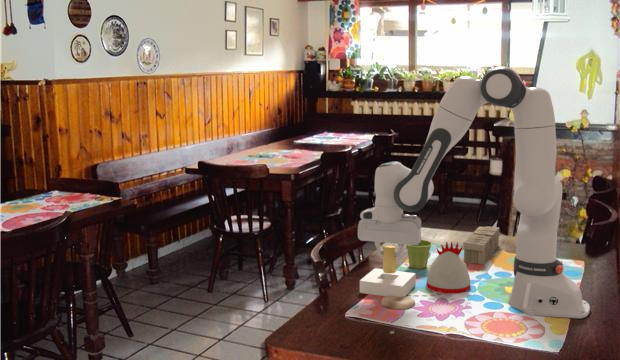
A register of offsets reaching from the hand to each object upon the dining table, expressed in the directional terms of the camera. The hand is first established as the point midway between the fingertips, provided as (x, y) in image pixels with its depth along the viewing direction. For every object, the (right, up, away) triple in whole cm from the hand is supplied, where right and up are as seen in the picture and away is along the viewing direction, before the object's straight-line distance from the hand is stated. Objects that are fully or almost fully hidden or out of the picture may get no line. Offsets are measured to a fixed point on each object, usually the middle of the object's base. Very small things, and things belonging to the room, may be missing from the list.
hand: (389, 255), depth 207 cm
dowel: (0, -5, +1) cm, 5 cm away
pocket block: (0, -11, +2) cm, 11 cm away
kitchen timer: (+19, -11, +4) cm, 22 cm away
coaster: (+1, -13, -11) cm, 17 cm away
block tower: (+40, -4, +40) cm, 57 cm away
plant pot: (+13, -7, +25) cm, 29 cm away
